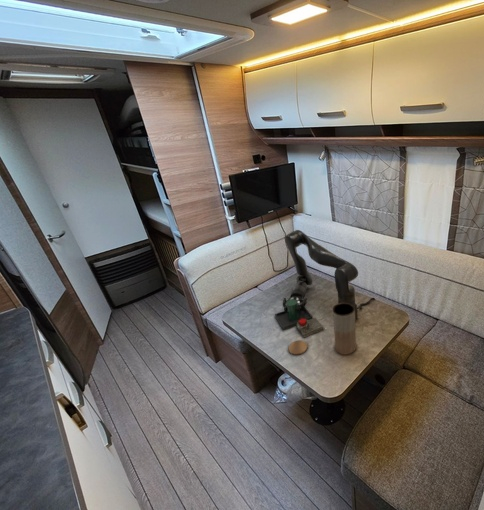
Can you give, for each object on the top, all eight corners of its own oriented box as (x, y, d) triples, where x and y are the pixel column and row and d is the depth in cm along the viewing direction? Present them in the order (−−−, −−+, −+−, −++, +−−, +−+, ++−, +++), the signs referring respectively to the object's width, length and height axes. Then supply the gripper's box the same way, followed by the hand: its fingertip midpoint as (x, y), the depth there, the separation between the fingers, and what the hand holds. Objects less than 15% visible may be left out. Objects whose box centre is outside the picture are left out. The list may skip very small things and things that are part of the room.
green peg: (296, 312, 162) (294, 298, 158) (300, 317, 158) (298, 303, 153) (286, 316, 160) (284, 301, 156) (290, 321, 155) (288, 306, 151)
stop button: (304, 320, 150) (304, 317, 150) (307, 324, 148) (307, 321, 147) (298, 322, 149) (298, 320, 148) (301, 326, 146) (300, 323, 145)
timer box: (315, 320, 156) (314, 314, 154) (323, 329, 148) (322, 323, 147) (295, 327, 151) (294, 321, 149) (302, 338, 143) (301, 331, 141)
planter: (337, 339, 141) (335, 301, 132) (357, 340, 139) (356, 303, 130) (333, 353, 132) (330, 314, 123) (354, 355, 130) (352, 316, 121)
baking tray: (302, 306, 168) (302, 304, 168) (312, 319, 157) (312, 316, 156) (275, 316, 161) (274, 314, 160) (283, 330, 149) (283, 327, 149)
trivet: (303, 339, 142) (302, 338, 142) (310, 350, 135) (310, 349, 135) (286, 346, 138) (286, 345, 138) (292, 357, 131) (292, 356, 131)
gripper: (286, 288, 168) (277, 304, 153) (309, 288, 166) (303, 305, 151) (287, 298, 171) (279, 315, 156) (310, 299, 170) (304, 316, 154)
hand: (291, 310), depth 154 cm, fingers closed on green peg, 6 cm apart
